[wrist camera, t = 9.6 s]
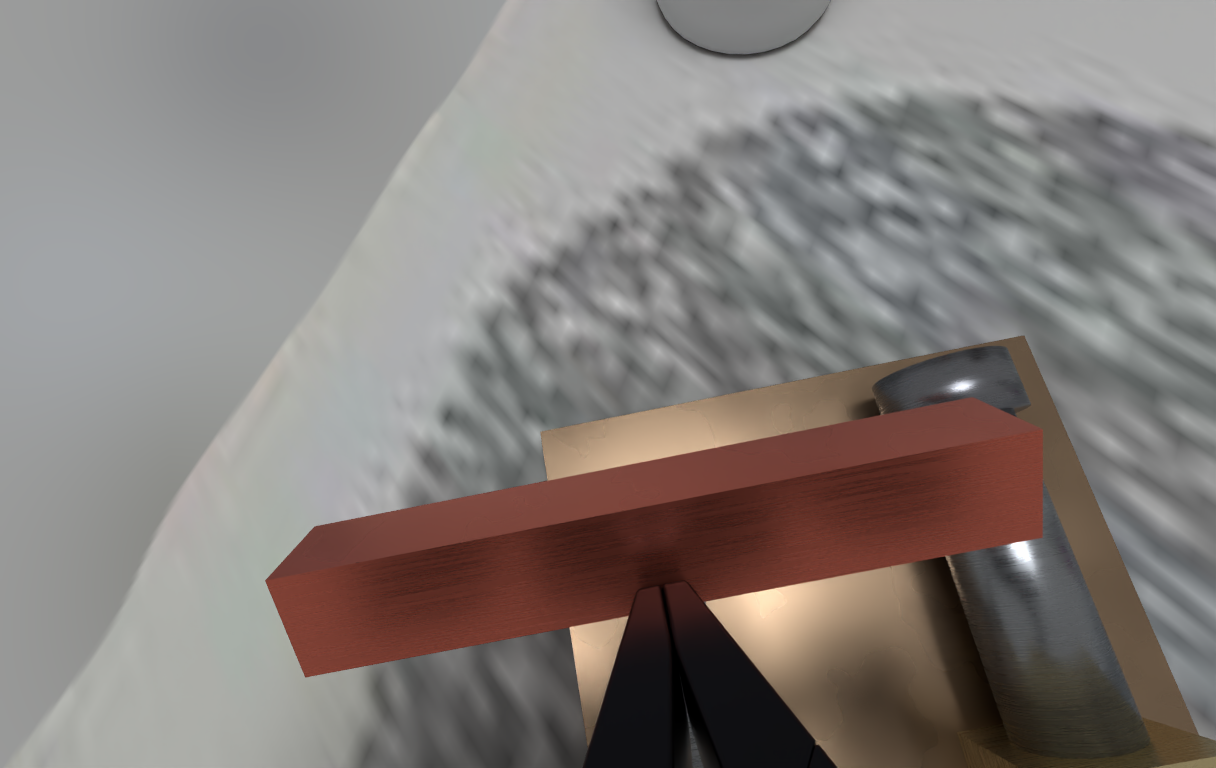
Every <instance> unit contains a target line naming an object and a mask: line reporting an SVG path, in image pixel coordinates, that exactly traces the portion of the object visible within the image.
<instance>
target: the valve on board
mask: <svg viewBox="0 0 1216 768" xmlns="http://www.w3.org/2000/svg"><path fill="white" fill-rule="evenodd" d="M970 397H974V398H976V399H978V400H980V401H982V402H985V403H987V404H989V405H991V406H993V407H995V408H998V409H1000V410H1002V411H1004V412H1006V413H1009V414H1011V415H1013V416H1015V417H1017V418H1019V419H1022V420H1024V421H1026V422H1028V423H1030V424H1033V425H1035V426H1037V427H1039V428H1041V429H1043V538H1039V539H1033V540H1028V541H1023V542H1017V543H1012V544H1007V545H1002V546H996V547H991V548H986V549H981V550H975V551H970V552H965V553H959V554H954V555H949V556H944V557H938V558H933V559H928V560H922V561H917V562H912V563H907V564H901V565H896V566H891V567H885V568H880V569H875V570H870V571H864V572H859V573H854V574H849V575H843V576H838V577H833V578H827V579H822V580H817V581H812V582H806V583H801V584H796V585H790V586H785V587H780V588H775V589H769V590H764V591H759V592H753V593H748V594H743V595H738V596H732V597H727V598H722V599H717V600H711V601H706V605H707V606H708V608H709V609H710V610H711V611H712V613H713V614H714V615H715V616H716V618H717V619H718V620H719V621H720V622H721V624H722V625H723V626H724V627H725V629H726V630H727V631H728V632H729V634H730V635H731V636H732V637H733V639H734V640H735V641H736V642H737V644H738V645H739V646H740V647H741V649H742V650H743V651H744V652H745V654H746V655H747V656H748V657H749V658H750V660H751V661H752V662H753V663H754V665H755V666H756V667H757V668H758V670H759V671H760V672H761V673H762V675H763V676H764V677H765V678H766V680H767V681H768V682H769V683H770V685H771V686H772V687H773V688H774V689H775V691H776V692H777V693H778V694H779V696H780V697H781V698H782V699H783V701H784V702H785V703H786V704H787V706H788V707H789V708H790V709H791V711H792V712H793V713H794V714H795V716H796V717H797V718H798V719H799V720H800V722H801V723H802V724H803V725H804V727H805V728H806V729H807V730H808V732H809V733H810V734H811V735H812V737H813V738H814V739H815V741H816V745H820V746H821V747H822V749H823V750H824V751H825V752H826V754H827V755H828V756H829V757H830V759H831V760H832V761H833V762H834V764H835V765H836V766H837V767H838V768H1216V741H1215V740H1212V739H1209V738H1206V737H1203V736H1199V734H1198V732H1197V730H1196V727H1195V725H1194V723H1193V721H1192V718H1191V716H1190V714H1189V711H1188V709H1187V707H1186V705H1185V702H1184V700H1183V698H1182V695H1181V693H1180V691H1179V689H1178V686H1177V684H1176V682H1175V679H1174V677H1173V675H1172V673H1171V670H1170V668H1169V666H1168V663H1167V661H1166V659H1165V657H1164V654H1163V652H1162V650H1161V647H1160V645H1159V643H1158V640H1157V638H1156V636H1155V634H1154V631H1153V629H1152V627H1151V624H1150V622H1149V620H1148V618H1147V615H1146V613H1145V611H1144V608H1143V606H1142V604H1141V602H1140V599H1139V597H1138V595H1137V592H1136V590H1135V588H1134V586H1133V583H1132V581H1131V579H1130V576H1129V574H1128V572H1127V570H1126V567H1125V565H1124V563H1123V560H1122V558H1121V556H1120V554H1119V551H1118V549H1117V547H1116V544H1115V542H1114V540H1113V538H1112V535H1111V533H1110V531H1109V528H1108V526H1107V524H1106V522H1105V519H1104V517H1103V515H1102V512H1101V510H1100V508H1099V506H1098V503H1097V501H1096V499H1095V496H1094V494H1093V492H1092V490H1091V487H1090V485H1089V483H1088V480H1087V478H1086V476H1085V474H1084V471H1083V469H1082V467H1081V464H1080V462H1079V460H1078V458H1077V455H1076V453H1075V451H1074V448H1073V446H1072V444H1071V442H1070V439H1069V437H1068V435H1067V432H1066V430H1065V428H1064V426H1063V423H1062V421H1061V419H1060V416H1059V414H1058V412H1057V409H1056V407H1055V405H1054V403H1053V400H1052V398H1051V396H1050V393H1049V391H1048V389H1047V387H1046V384H1045V382H1044V380H1043V377H1042V375H1041V373H1040V371H1039V368H1038V366H1037V364H1036V361H1035V359H1034V357H1033V355H1032V352H1031V350H1030V348H1029V345H1028V343H1027V341H1026V339H1025V336H1019V337H1014V338H1009V339H1004V340H999V341H994V342H989V343H984V344H979V345H974V346H969V347H964V348H959V349H954V350H949V351H944V352H939V353H934V354H929V355H924V356H919V357H914V358H909V359H903V360H898V361H893V362H888V363H883V364H878V365H873V366H868V367H863V368H858V369H853V370H848V371H843V372H838V373H833V374H828V375H823V376H818V377H813V378H808V379H803V380H798V381H793V382H788V383H783V384H778V385H773V386H768V387H763V388H758V389H753V390H748V391H743V392H738V393H733V394H728V395H723V396H718V397H713V398H708V399H703V400H698V401H693V402H688V403H683V404H678V405H673V406H668V407H663V408H658V409H653V410H648V411H643V412H638V413H633V414H628V415H623V416H618V417H613V418H608V419H603V420H598V421H593V422H588V423H583V424H578V425H573V426H568V427H563V428H558V429H552V430H547V431H542V432H540V433H541V439H542V446H543V453H544V460H545V466H546V473H547V480H548V481H549V480H554V479H559V478H564V477H569V476H574V475H579V474H584V473H589V472H594V471H600V470H605V469H610V468H615V467H620V466H625V465H630V464H635V463H640V462H645V461H650V460H655V459H660V458H666V457H671V456H676V455H681V454H686V453H691V452H696V451H701V450H706V449H711V448H716V447H721V446H726V445H732V444H737V443H742V442H747V441H752V440H757V439H762V438H767V437H772V436H777V435H782V434H787V433H793V432H798V431H803V430H808V429H813V428H818V427H823V426H828V425H833V424H838V423H843V422H848V421H853V420H859V419H864V418H869V417H874V416H879V415H884V414H889V413H894V412H899V411H904V410H909V409H914V408H919V407H925V406H930V405H935V404H940V403H945V402H950V401H955V400H960V399H965V398H970ZM628 617H629V616H627V617H621V618H616V619H611V620H606V621H600V622H595V623H590V624H584V625H579V626H574V627H570V633H571V640H572V647H573V653H574V660H575V667H576V673H577V680H578V687H579V693H580V700H581V707H582V713H583V720H584V727H585V734H586V740H587V747H589V744H590V741H591V737H592V734H593V731H594V727H595V724H596V721H597V718H598V714H599V711H600V708H601V705H602V701H603V698H604V695H605V692H606V688H607V685H608V682H609V679H610V675H611V672H612V669H613V666H614V662H615V659H616V656H617V653H618V649H619V646H620V643H621V640H622V636H623V633H624V630H625V626H626V623H627V620H628Z"/></svg>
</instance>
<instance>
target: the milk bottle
mask: <svg viewBox="0 0 1216 768" xmlns="http://www.w3.org/2000/svg"><path fill="white" fill-rule="evenodd" d="M830 1H831V0H657V2H658V5H659V7H660V9H661V11H662V13H663V15H664V17H665V19H666V20H667V21H668V22H669V24H670V25H671V27H672V28H673V29H674V30H675V31H676V32H678V33H679V34H680V35H681V36H682V37H683V38H684V39H686V40H688V41H690V42H692V43H694V44H695V45H697V46H699V47H703V48H706V49H708V50H711V51H715V52H722V53H727V54H752V53H759V52H766V51H769V50H772V49H775V48H779V47H781V46H783V45H785V44H787V43H789V42H791V41H794V40H796V39H797V38H798V37H799V36H801V35H802V34H803V33H805V32H806V31H808V30H809V29H810V27H811V26H812V25H813V24H814V23H815V22H816V21H817V20H818V19H819V18H820V16H821V15H822V14H823V13H824V11H825V10H826V8H827V7H828V5H829V3H830Z"/></svg>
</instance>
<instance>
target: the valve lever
mask: <svg viewBox="0 0 1216 768" xmlns="http://www.w3.org/2000/svg"><path fill="white" fill-rule="evenodd" d="M1039 538H1043V429H1041V428H1039V427H1037V426H1035V425H1033V424H1030V423H1028V422H1026V421H1024V420H1022V419H1019V418H1017V417H1015V416H1013V415H1011V414H1009V413H1006V412H1004V411H1002V410H1000V409H998V408H995V407H993V406H991V405H989V404H987V403H985V402H982V401H980V400H978V399H976V398H974V397H970V398H965V399H960V400H955V401H950V402H945V403H940V404H935V405H930V406H925V407H919V408H914V409H909V410H904V411H899V412H894V413H889V414H884V415H879V416H874V417H869V418H864V419H859V420H853V421H848V422H843V423H838V424H833V425H828V426H823V427H818V428H813V429H808V430H803V431H798V432H793V433H787V434H782V435H777V436H772V437H767V438H762V439H757V440H752V441H747V442H742V443H737V444H732V445H726V446H721V447H716V448H711V449H706V450H701V451H696V452H691V453H686V454H681V455H676V456H671V457H666V458H660V459H655V460H650V461H645V462H640V463H635V464H630V465H625V466H620V467H615V468H610V469H605V470H600V471H594V472H589V473H584V474H579V475H574V476H569V477H564V478H559V479H554V480H549V481H544V482H539V483H534V484H528V485H523V486H518V487H513V488H508V489H503V490H498V491H493V492H488V493H483V494H478V495H473V496H467V497H462V498H457V499H452V500H447V501H442V502H437V503H432V504H427V505H422V506H417V507H412V508H407V509H401V510H396V511H391V512H386V513H381V514H376V515H371V516H366V517H361V518H356V519H351V520H346V521H341V522H335V523H330V524H325V525H320V526H315V527H314V528H313V529H312V530H311V531H310V532H309V533H308V534H307V535H306V537H305V538H304V539H303V540H302V541H301V542H300V543H299V544H298V545H297V546H296V548H295V549H294V550H293V551H292V552H291V553H290V554H289V555H288V556H287V557H286V558H285V560H284V561H283V562H282V563H281V564H280V565H279V566H278V567H277V568H276V569H275V571H274V572H273V573H272V574H271V575H270V576H269V577H268V578H267V579H266V580H265V581H266V584H267V586H268V589H269V591H270V593H271V596H272V598H273V601H274V603H275V605H276V608H277V610H278V613H279V615H280V617H281V620H282V622H283V625H284V627H285V630H286V632H287V634H288V637H289V639H290V642H291V644H292V646H293V649H294V651H295V654H296V656H297V658H298V661H299V663H300V666H301V668H302V670H303V673H304V675H305V677H310V676H315V675H320V674H326V673H331V672H336V671H342V670H347V669H352V668H357V667H363V666H368V665H373V664H379V663H384V662H389V661H394V660H400V659H405V658H410V657H416V656H421V655H426V654H431V653H437V652H442V651H447V650H452V649H458V648H463V647H468V646H474V645H479V644H484V643H489V642H495V641H500V640H505V639H511V638H516V637H521V636H526V635H532V634H537V633H542V632H548V631H553V630H558V629H563V628H569V627H574V626H579V625H584V624H590V623H595V622H600V621H606V620H611V619H616V618H621V617H627V616H629V613H630V610H631V607H632V604H633V600H634V597H635V594H636V592H637V590H638V589H640V588H644V587H649V586H654V585H659V586H661V587H663V585H664V584H665V583H670V582H675V581H680V580H685V581H687V582H688V583H689V584H690V585H691V587H692V588H693V589H694V590H695V591H696V593H697V594H698V595H699V596H700V598H701V599H702V600H703V601H704V603H705V604H706V601H711V600H717V599H722V598H727V597H732V596H738V595H743V594H748V593H753V592H759V591H764V590H769V589H775V588H780V587H785V586H790V585H796V584H801V583H806V582H812V581H817V580H822V579H827V578H833V577H838V576H843V575H849V574H854V573H859V572H864V571H870V570H875V569H880V568H885V567H891V566H896V565H901V564H907V563H912V562H917V561H922V560H928V559H933V558H938V557H944V556H949V555H954V554H959V553H965V552H970V551H975V550H981V549H986V548H991V547H996V546H1002V545H1007V544H1012V543H1017V542H1023V541H1028V540H1033V539H1039ZM662 590H663V588H662ZM663 595H664V594H663ZM664 600H665V599H664ZM665 605H666V604H665ZM679 675H680V674H679ZM680 680H681V679H680ZM681 685H682V684H681ZM682 690H683V689H682ZM683 695H684V694H683ZM684 700H685V699H684ZM685 705H686V703H685ZM686 710H687V708H686ZM687 716H688V713H687ZM688 722H689V731H690V740H691V752H692V764H693V768H704V767H703V764H702V761H701V758H700V755H699V752H698V748H697V745H696V742H695V739H694V736H693V732H692V729H691V725H690V721H689V717H688Z"/></svg>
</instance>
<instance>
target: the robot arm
mask: <svg viewBox="0 0 1216 768" xmlns="http://www.w3.org/2000/svg"><path fill="white" fill-rule="evenodd" d="M662 588H663V590H662ZM663 594H664V595H663ZM664 599H665V600H664ZM665 604H666V605H665ZM679 674H680V675H679ZM680 679H681V680H680ZM681 684H682V685H681ZM682 689H683V690H682ZM683 694H684V695H683ZM684 699H685V700H684ZM685 703H686V705H685ZM686 708H687V710H686ZM687 713H688V716H687ZM688 717H689V721H690V725H691V729H692V732H693V736H694V739H695V742H696V745H697V748H698V752H699V755H700V758H701V761H702V764H703V767H704V768H838V767H837V766H836V765H835V764H834V762H833V761H832V760H831V759H830V757H829V756H828V755H827V754H826V752H825V751H824V750H823V749H822V747H821V746H820V745H816V741H815V739H814V738H813V737H812V735H811V734H810V733H809V732H808V730H807V729H806V728H805V727H804V725H803V724H802V723H801V722H800V720H799V719H798V718H797V717H796V716H795V714H794V713H793V712H792V711H791V709H790V708H789V707H788V706H787V704H786V703H785V702H784V701H783V699H782V698H781V697H780V696H779V694H778V693H777V692H776V691H775V689H774V688H773V687H772V686H771V685H770V683H769V682H768V681H767V680H766V678H765V677H764V676H763V675H762V673H761V672H760V671H759V670H758V668H757V667H756V666H755V665H754V663H753V662H752V661H751V660H750V658H749V657H748V656H747V655H746V654H745V652H744V651H743V650H742V649H741V647H740V646H739V645H738V644H737V642H736V641H735V640H734V639H733V637H732V636H731V635H730V634H729V632H728V631H727V630H726V629H725V627H724V626H723V625H722V624H721V622H720V621H719V620H718V619H717V618H716V616H715V615H714V614H713V613H712V611H711V610H710V609H709V608H708V606H707V605H706V604H705V603H704V601H703V600H702V599H701V598H700V596H699V595H698V594H697V593H696V591H695V590H694V589H693V588H692V587H691V585H690V584H689V583H688V582H687V581H685V580H680V581H675V582H670V583H665V584H664V585H663V587H661V586H659V585H654V586H649V587H644V588H640V589H638V590H637V592H636V594H635V597H634V600H633V604H632V607H631V610H630V613H629V617H628V620H627V623H626V626H625V630H624V633H623V636H622V640H621V643H620V646H619V649H618V653H617V656H616V659H615V662H614V666H613V669H612V672H611V675H610V679H609V682H608V685H607V688H606V692H605V695H604V698H603V701H602V705H601V708H600V711H599V714H598V718H597V721H596V724H595V727H594V731H593V734H592V737H591V741H590V744H589V747H588V750H587V754H586V757H585V760H584V763H583V767H582V768H693V764H692V752H691V740H690V731H689V722H688Z"/></svg>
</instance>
